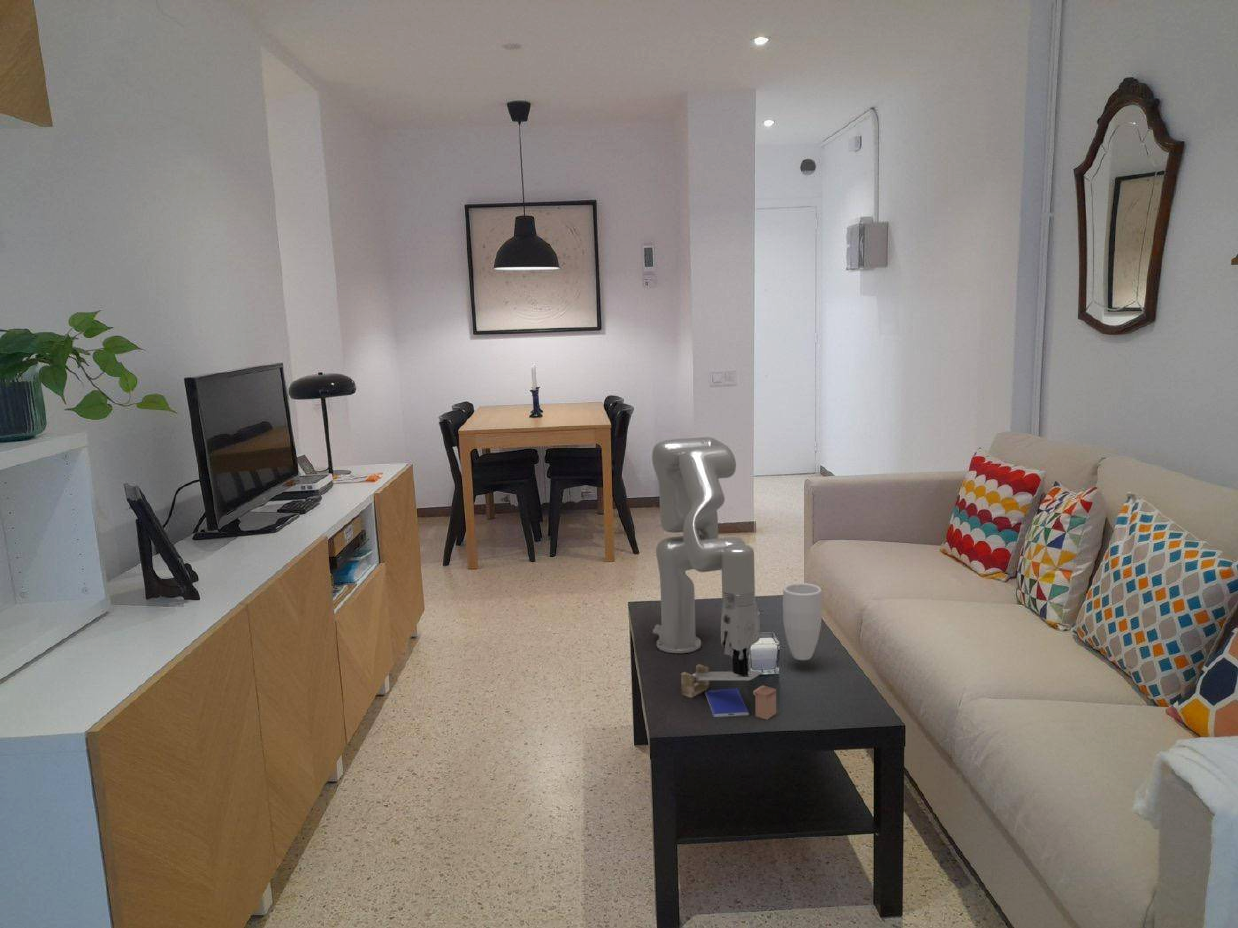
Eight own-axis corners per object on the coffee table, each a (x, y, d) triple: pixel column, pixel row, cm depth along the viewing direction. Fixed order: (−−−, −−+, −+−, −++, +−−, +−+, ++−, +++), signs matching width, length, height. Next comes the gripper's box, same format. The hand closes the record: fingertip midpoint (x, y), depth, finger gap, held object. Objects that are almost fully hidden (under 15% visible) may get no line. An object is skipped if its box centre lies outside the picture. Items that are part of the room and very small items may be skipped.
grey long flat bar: (688, 681, 205) (687, 675, 205) (698, 676, 208) (697, 670, 208) (750, 681, 192) (748, 675, 192) (759, 675, 195) (758, 669, 195)
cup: (773, 667, 219) (773, 588, 216) (797, 656, 226) (797, 579, 223) (807, 678, 212) (807, 597, 208) (830, 666, 218) (831, 587, 215)
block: (753, 715, 193) (753, 690, 192) (763, 709, 196) (762, 685, 195) (766, 719, 190) (766, 695, 189) (776, 713, 193) (776, 689, 192)
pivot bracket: (681, 694, 205) (681, 673, 204) (699, 684, 210) (699, 664, 209) (691, 697, 203) (690, 676, 202) (709, 687, 208) (708, 667, 207)
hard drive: (705, 689, 205) (713, 713, 193) (738, 687, 205) (748, 710, 193) (705, 695, 205) (713, 719, 193) (738, 693, 206) (748, 717, 193)
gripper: (733, 608, 185) (735, 687, 188) (770, 592, 196) (771, 667, 199) (706, 603, 190) (708, 679, 193) (743, 587, 201) (745, 660, 204)
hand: (740, 673), depth 196 cm, fingers closed
